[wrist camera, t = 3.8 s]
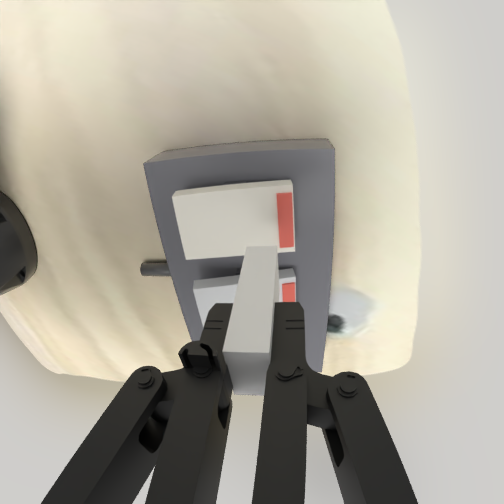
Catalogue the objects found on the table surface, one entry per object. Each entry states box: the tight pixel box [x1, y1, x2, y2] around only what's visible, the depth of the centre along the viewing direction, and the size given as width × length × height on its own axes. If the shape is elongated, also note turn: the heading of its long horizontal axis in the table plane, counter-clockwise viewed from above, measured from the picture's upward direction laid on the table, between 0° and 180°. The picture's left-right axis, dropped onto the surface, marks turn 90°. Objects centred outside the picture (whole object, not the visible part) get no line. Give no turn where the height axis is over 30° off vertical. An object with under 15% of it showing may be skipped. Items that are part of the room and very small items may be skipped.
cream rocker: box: [172, 179, 295, 260], centre depth 21 cm, size 8×5×1 cm, turn 96°
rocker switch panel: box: [140, 139, 335, 372], centre depth 28 cm, size 19×24×5 cm
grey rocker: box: [193, 268, 296, 327], centre depth 25 cm, size 8×5×1 cm, turn 96°
